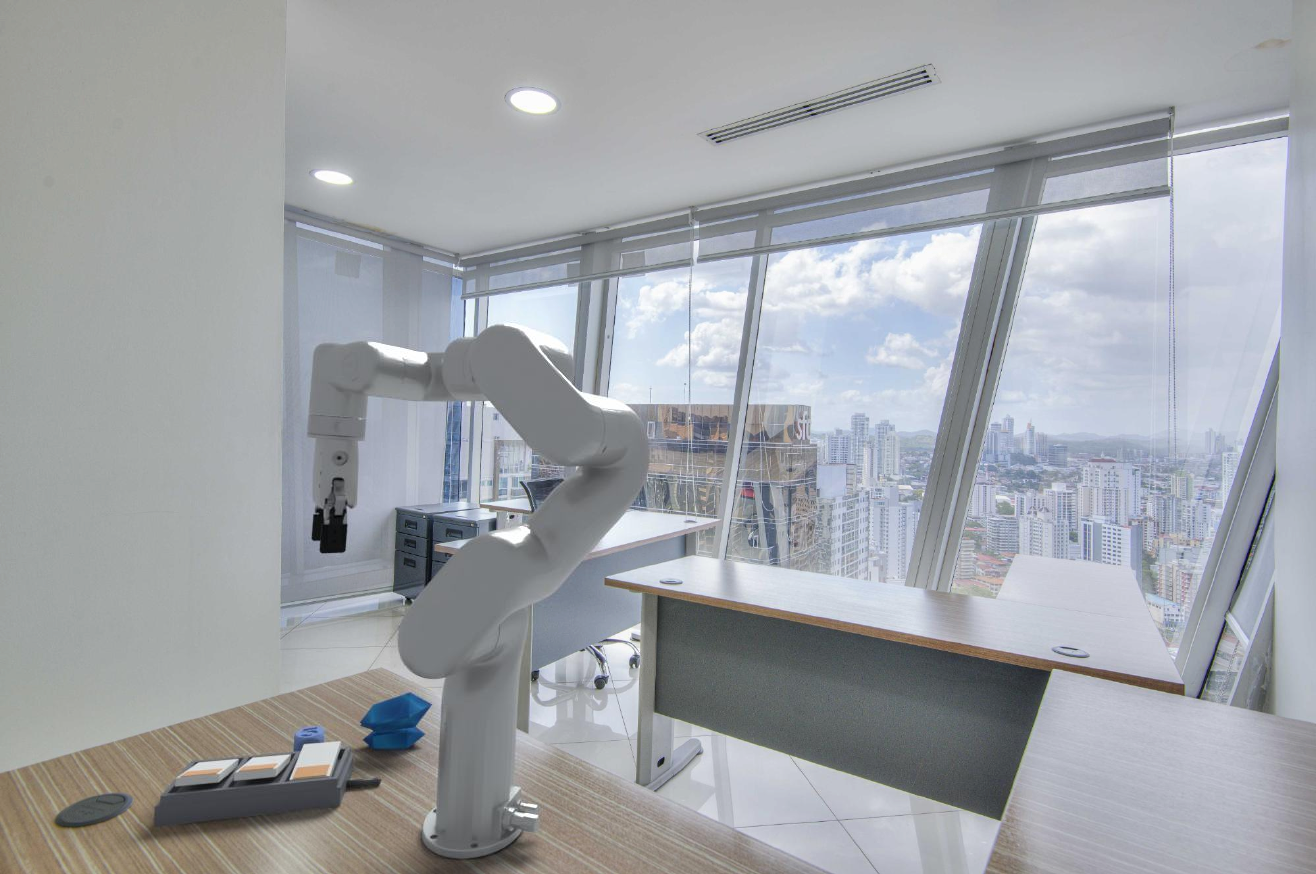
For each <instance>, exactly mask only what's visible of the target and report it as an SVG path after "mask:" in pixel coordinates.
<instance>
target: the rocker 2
mask: <svg viewBox="0 0 1316 874" xmlns="http://www.w3.org/2000/svg"><path fill="white" fill-rule="evenodd" d="M340 748H342V740H341V741H340V740H339V741H337V740H336V741H326V742H325V741H324V743H313V744H304V745H303V748H302V750H301V753H300V755H299V758H298V760H297V763H296V765H295V767H294V770H293V772H292V775H291V777H290V780H289V781H298V780H308V779H318V778H328V777H331V776H332V773H333V770H334V767H335V764H336V761H337V758H338V754H339V751H340Z"/></svg>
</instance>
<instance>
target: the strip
mask: <svg viewBox="0 0 1316 874" xmlns="http://www.w3.org/2000/svg"><path fill="white" fill-rule="evenodd" d="M300 753H301V751H297V752H293V751H288V752H285V751H284V752H274V753H263V754H253V755H252V754H251V755H240V756H232V757H220V758H219V757H218V758H207V759H206V758H205V759H195V760H191V761H190V762H189V763H188V764H187V765H186V766H185V767H184V768H183V770H182V771H181V772H179V774H178V776H180V775H181V774H183V773H184V772H185V771H187V770H188V769H190V768H191V767H193V766H194V765H196V764H197V763H199V762H209V761H220V760H232V759H239V761H238V767H237V768H236V769H234V770H233V771H232V772H231V773H229V774H228V776H226V777H225V778H223V779H222V780H221V781H220V782H216V783H206V784H195V785H185V786H175V782H176V778H175V779H174V780H173V781H172V782H171V783H170V784H169V786H168V787H167V788H166V789H165V790H164V791H163V792H162V793H161V795H160V796H159V797H160V798H159V799H160V800H159V801H158V803H156V805H155V806H154V816H153V818H154V819H153V827H154V828H155V827H163V826H164V827H165V826H173V825H180V824H181V825H182V824H191V823H192V824H193V823H199V822H211V821H218V820H220V821H221V820H227V819H235V818H236V819H237V818H244V817H255V816H262V815H263V816H264V815H272V814H280V813H282V814H283V813H291V812H300V811H307V810H317V809H326V808H334V807H341V805H342V802H343V799H344V796H345V794H346V790H347V789H353V788H361V787H372V786H379V785H380V784H381V783H382V778H381V777H379V776H378V777H365V778H357V779H351V777H352V775H353V773H354V758H355V757H354V756H355V754H351V746H346V747H345V746H343V747H342V746H341V748H340V751H339V754H338V758H337V761H336V764H335V767H334V770H333V773H332V776H331V777H328V778H318V779H308V780H298V781H289V780H290V777H291V775H292V772H293V770H294V767H295V765H296V763H297V760H298V758H299V755H300ZM288 754H291V759H290V763H289V764H288V765H287V766H286V767H285V768H284V769H283V770H282V771H281V772H280V773H279V774H278V775H277V776H276V777H268V778H257V779H247V780H237V781H234V775H235V772H236V771H237V770H238V769H240V768H241V767H242V766H243V765H244V764H246V763H247V762H248V761H249V760H250V759H252V758H254V757H266V756H277V755H288ZM178 776H177V777H178Z"/></svg>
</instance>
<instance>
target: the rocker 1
mask: <svg viewBox="0 0 1316 874" xmlns="http://www.w3.org/2000/svg"><path fill="white" fill-rule="evenodd" d="M238 761H239V759H232V760H220V761H209V762H199V763H197V764H196V765H194V766H193V767H191V768H190V769H188V770H187V771H185V772H184V773H183V774H181V775H180V776H177V777H176V778H175V779H176V782H175V786H185V785H195V784H206V783H216V782H220V781H221V780H222V779H223V778H225V777H226V776H228V774H229V773H231V772H232V771H233V770H234V769H236V768H237V767H238Z"/></svg>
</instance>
